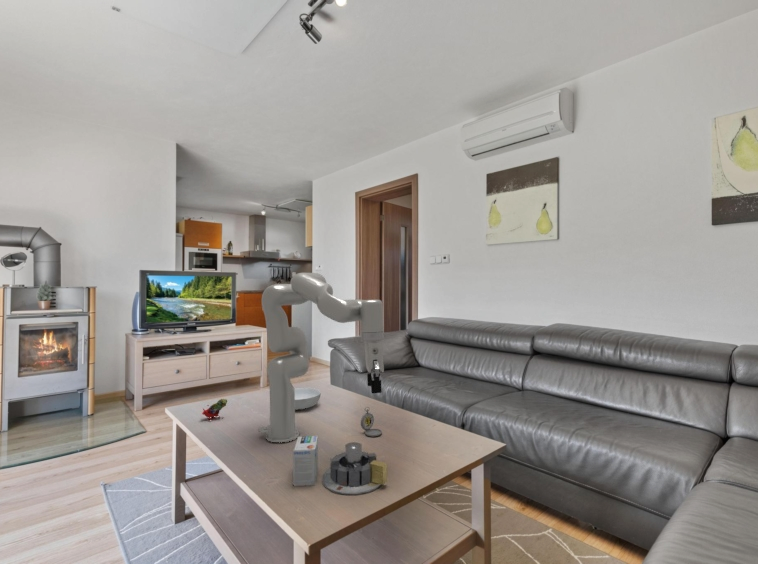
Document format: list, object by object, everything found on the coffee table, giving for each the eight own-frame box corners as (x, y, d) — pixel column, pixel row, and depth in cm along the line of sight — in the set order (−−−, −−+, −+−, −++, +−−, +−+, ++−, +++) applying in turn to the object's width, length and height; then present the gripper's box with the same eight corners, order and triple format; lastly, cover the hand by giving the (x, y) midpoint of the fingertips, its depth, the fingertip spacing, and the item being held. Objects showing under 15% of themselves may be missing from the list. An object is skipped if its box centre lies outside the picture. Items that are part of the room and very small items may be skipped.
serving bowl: (286, 400, 200) (286, 386, 200) (325, 401, 198) (325, 388, 198) (270, 413, 180) (270, 398, 180) (313, 414, 177) (313, 399, 177)
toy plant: (219, 429, 172) (230, 412, 168) (196, 423, 168) (207, 405, 164) (221, 415, 179) (233, 398, 175) (200, 409, 175) (211, 391, 171)
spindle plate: (320, 497, 107) (320, 461, 107) (324, 465, 126) (323, 435, 126) (388, 493, 109) (387, 457, 109) (381, 462, 128) (381, 432, 128)
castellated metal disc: (329, 487, 110) (329, 469, 110) (331, 464, 124) (331, 448, 124) (387, 484, 111) (387, 466, 111) (382, 462, 126) (382, 446, 126)
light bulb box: (297, 469, 124) (297, 436, 124) (318, 468, 124) (318, 435, 125) (292, 486, 113) (292, 450, 113) (315, 485, 114) (315, 449, 114)
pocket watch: (380, 438, 149) (379, 412, 149) (359, 436, 151) (358, 410, 151) (384, 430, 157) (383, 405, 157) (364, 429, 159) (363, 404, 159)
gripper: (388, 339, 119) (390, 395, 119) (379, 333, 136) (381, 382, 136) (364, 340, 118) (366, 396, 117) (358, 335, 135) (360, 384, 134)
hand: (374, 389), depth 126 cm, fingers open, 9 cm apart
